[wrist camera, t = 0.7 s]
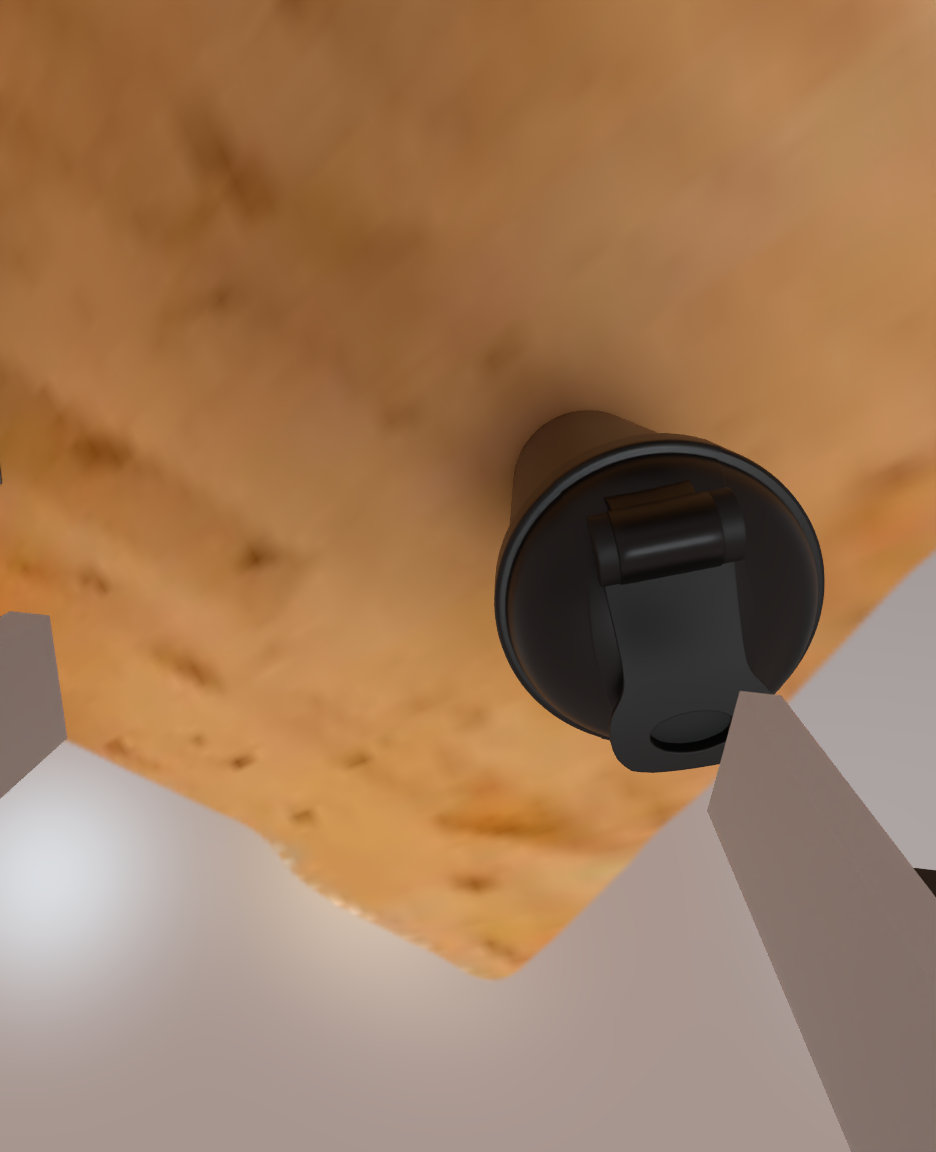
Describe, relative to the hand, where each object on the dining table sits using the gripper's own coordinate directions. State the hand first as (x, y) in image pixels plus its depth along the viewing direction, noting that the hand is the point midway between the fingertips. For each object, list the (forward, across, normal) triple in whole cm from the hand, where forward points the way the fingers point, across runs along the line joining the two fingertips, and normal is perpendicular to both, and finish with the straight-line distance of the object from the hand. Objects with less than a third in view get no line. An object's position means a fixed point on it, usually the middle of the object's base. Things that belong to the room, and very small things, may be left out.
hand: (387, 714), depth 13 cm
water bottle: (+28, +7, -1) cm, 29 cm away
